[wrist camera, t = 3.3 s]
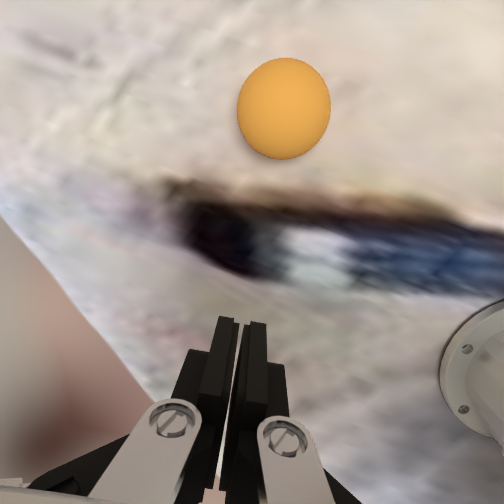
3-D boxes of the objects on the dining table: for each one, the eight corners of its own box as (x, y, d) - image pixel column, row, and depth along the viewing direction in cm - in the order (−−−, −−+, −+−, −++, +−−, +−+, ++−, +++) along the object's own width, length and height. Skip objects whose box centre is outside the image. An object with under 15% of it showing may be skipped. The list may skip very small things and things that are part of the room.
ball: (325, 153, 23) (342, 153, 18) (245, 163, 24) (240, 165, 18) (319, 65, 22) (336, 36, 16) (235, 77, 22) (225, 53, 17)
